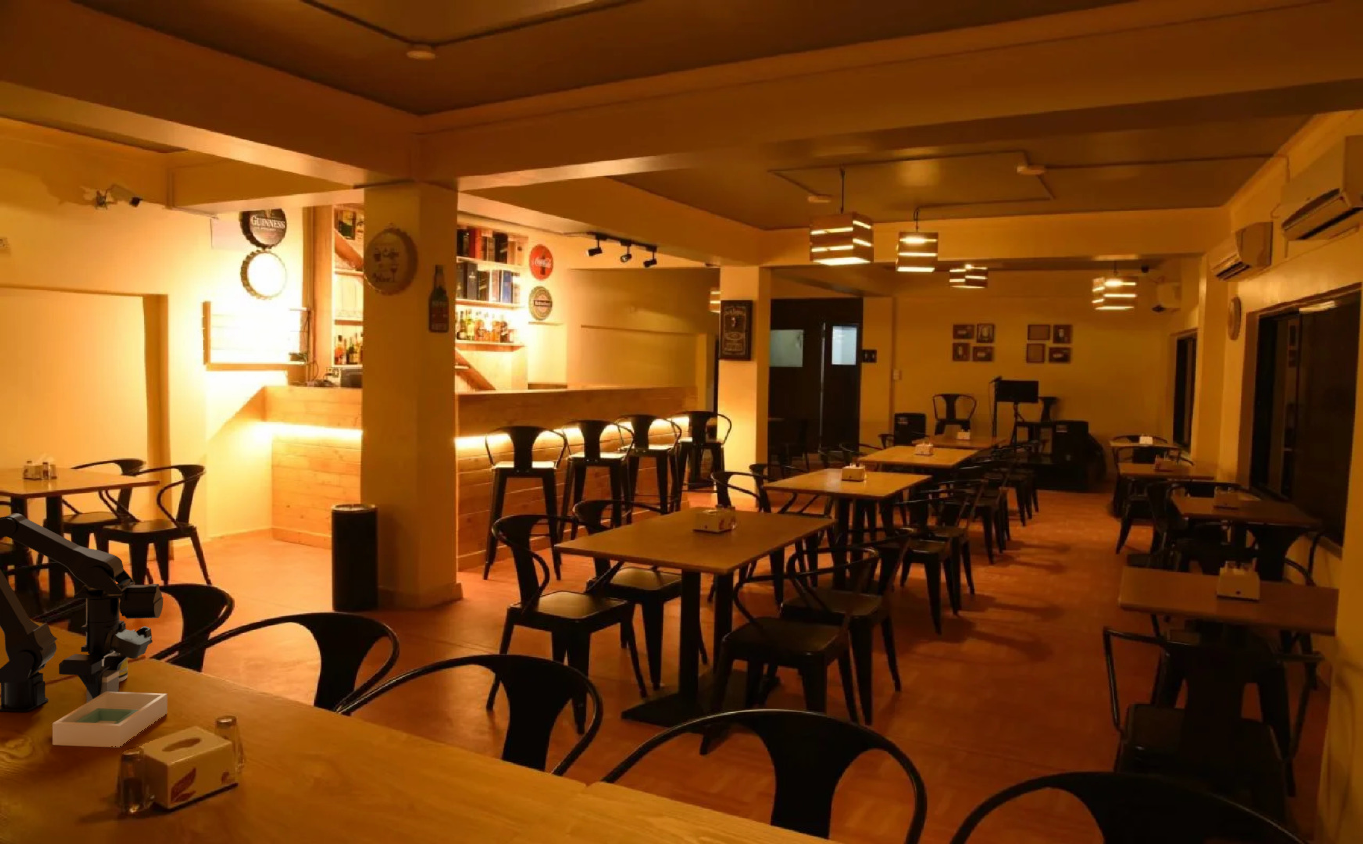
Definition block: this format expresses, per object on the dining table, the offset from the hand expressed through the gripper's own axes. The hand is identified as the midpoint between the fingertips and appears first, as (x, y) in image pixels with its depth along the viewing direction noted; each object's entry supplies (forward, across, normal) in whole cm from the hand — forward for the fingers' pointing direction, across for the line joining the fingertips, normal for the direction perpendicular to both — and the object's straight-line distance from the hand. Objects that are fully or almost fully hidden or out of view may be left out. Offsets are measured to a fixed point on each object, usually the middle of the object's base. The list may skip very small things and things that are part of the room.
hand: (102, 694), depth 188 cm
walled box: (+2, -12, -9) cm, 15 cm away
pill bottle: (+2, +13, +6) cm, 14 cm away
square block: (+2, 0, 0) cm, 2 cm away
